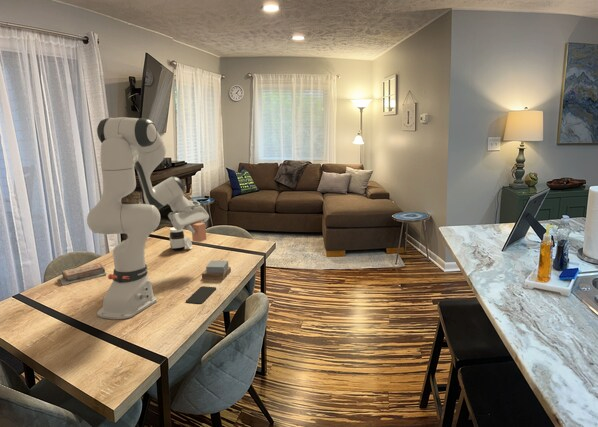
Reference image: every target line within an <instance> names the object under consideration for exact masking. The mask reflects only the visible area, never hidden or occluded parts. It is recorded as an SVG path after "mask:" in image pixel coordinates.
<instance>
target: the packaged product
mask: <svg viewBox="0 0 598 427" xmlns="http://www.w3.org/2000/svg"><path fill="white" fill-rule="evenodd" d="M105 270H106V269H105V267H104V266H103V264H102V263H101V262H99V263H93V264H89V265H84V266H78V267H74V268H70V269H65V270H62V272H61V274H62V275H59V276H58V279H59V281H60V283H61V284H62V286H66V285H70V284H74V283H79V282H83V281H88V280H92V279H96V278H100V277H105V276H107V272H106V271H105Z"/></svg>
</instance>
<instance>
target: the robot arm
mask: <svg viewBox="0 0 598 427" xmlns="http://www.w3.org/2000/svg"><path fill="white" fill-rule="evenodd" d="M96 134H97V137H98V140H99V141H100V143H101V145H100V167H101V168H100V169H101V175H102V176H101V177H102V194H101V197H100V199H99V200H98V202H97V203H96V205H94V206H93V207H92V208H91V209H90V210H89V212H88V214H87V217H86V223H87V225H88V226H87V227H88V228H89V230H90V231H91V232H93V233H94V234H98V235H118V234H119V235H120V234H122V235H123V234H125V235H127V238H126V239H125V240H122V241H121V242H119V243H118V244H117V245H116V246H115V247H114V248H113V250H112V256H113V264H114V269H113V272H112V273H113V274H112V273H110V274H108V275H107V278H108V280H112V283H111V284H110V286H109V288H108V289H107V291H106V292H105V295H104V296H103V299H102V300H103V301H102V302H103V303H102V307H101V308H100V309H99V310H98V311H97V312H96V316H97V317H99V318H101V319H102V318H103V319H109V320H124V319H130V318H132V317H134V316H136V315H137V314H138V313H141V312H143V310H146V309H147V308H148V307H150V306H152V305H154V304H155V303H156V302H157V301H158V299H157V297H156V296H154V290H153V286H152V281H151V280H150V278H149V276H148V273H149V272H148V265H147V264H146V257H145V248H146V247H145V246H146V242H147V240H148V238H149V236H150V235H151V234H152V232H154V231H155V230H156V229H157V228H158V227H159V225H160V222H161V213H160V211H159V210H160V209H161V210H162V208H163V207H165V206H166V205H168V206H170V209H171V212H169V213H168V214H167V217H168V219H169V220H170V222H171V225H172V226H173V227H174V228H175V229H176V230H181V229H183V230H184V229H186V230H187V231H189V232H191V234H192V233H193V234H195V233H196V232H197V230H196V229H194V228H192V226H191V224H194V223H197V222H200V223H206V222H207V221H208V220H209V219H210V215H209V213H208V212H207V210H206V209H205V208H204V207H203V206H201V203H200V202H199V201H196V200H194V201H193V200H190V199H188V198H187V197H186V196H184V194H185V192H186V186H185V185H184V183H183V182H182V181H181V179H180V178H179V177H177V176H170V177H168V178H167V179H165V180H163V181H161V182H159V183H158V184H156V185H155V186H153V185H152V181H151V175H152V173H153V171H154V170H155V169H156V168H157V167H158V166H159V165H160V164H161V163H162V162H163V161H164V160H165V157H166V152H167V150H166V147H165V144H164V143H165V142H164V141H163V139H162V137H161V135H160V133H159V131H158V130H157V126H156V125H155V123H154V122H153V121H152V120H150V119H147V118H145V117H144V118H143V117H140V118H138V117H127V116H126V117H125V116H121V117H108V118H104V119H102V120H100V121H99V123H98V125H97V128H96ZM132 148H135V150H136V152H137V160H136V162H135V164H134V158H133V153H132V150H131V149H132ZM135 170H136V172H135ZM136 175H137V177H138V178H137V179H138V181H139V184H140V187H141V188H140V189H141V191H142V196H143V200H144V203H127V204H125V203H122V198H125V197H127V196H128V195H130V194H132V193H133V192H134V191H135V190H136V187H137V180H136Z"/></svg>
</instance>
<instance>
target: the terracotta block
mask: <svg viewBox="0 0 598 427" xmlns="http://www.w3.org/2000/svg"><path fill="white" fill-rule="evenodd" d="M191 227H192V228H194V229H196V230H197V232H196V233H195V234H193V233H192V232H191V237H192V238H191V239H192V241H193V242H198V243H201V242H203V241H205V240H207V228H206V222H204V223H200V222H197V223H194V224H191Z"/></svg>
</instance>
